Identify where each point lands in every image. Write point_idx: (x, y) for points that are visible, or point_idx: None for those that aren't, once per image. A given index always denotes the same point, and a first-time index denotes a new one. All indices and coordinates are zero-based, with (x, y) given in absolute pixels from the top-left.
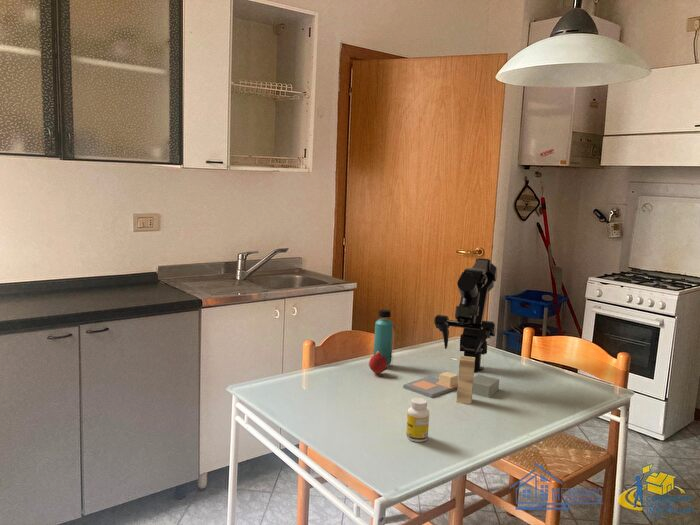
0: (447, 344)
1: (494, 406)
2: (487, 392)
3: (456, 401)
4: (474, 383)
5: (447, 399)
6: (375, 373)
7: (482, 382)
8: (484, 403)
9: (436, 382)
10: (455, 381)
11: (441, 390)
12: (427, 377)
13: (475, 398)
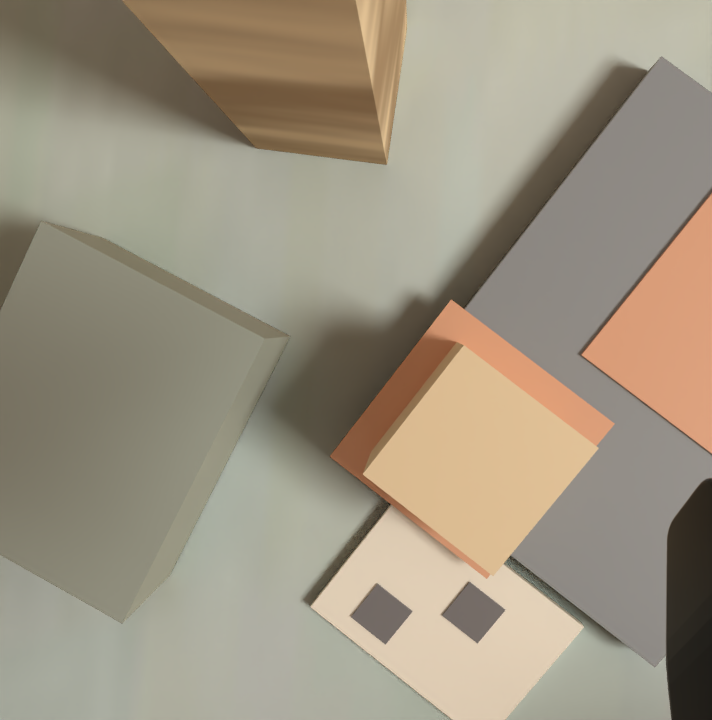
0: (680, 676)
1: (67, 21)
2: (88, 235)
3: (406, 24)
4: (191, 300)
5: (490, 76)
6: None
7: (100, 341)
8: (149, 72)
9: (593, 461)
10: (395, 424)
11: (551, 217)
12: None
13: (220, 183)
